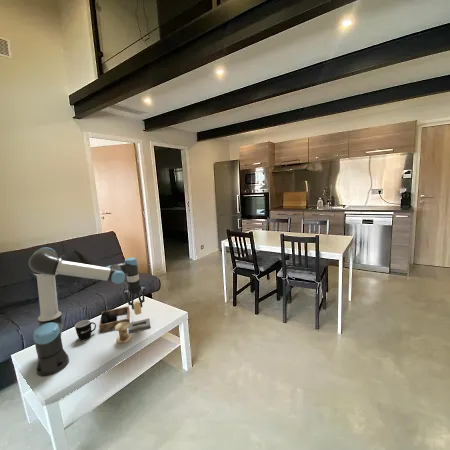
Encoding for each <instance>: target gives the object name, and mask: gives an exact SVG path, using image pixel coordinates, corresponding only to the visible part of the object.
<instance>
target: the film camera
mask: <svg viewBox="0 0 450 450" xmlns="http://www.w3.org/2000/svg"><path fill="white" fill-rule="evenodd" d="M104 311H105V312H104ZM104 311H102V312H103V313H102V312H101V315H100V320H101V323H102V324H105V323H110V322H114V321H118V315H117V314H110V313H109V312H106V311H107V310H104Z"/></svg>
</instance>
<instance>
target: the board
mask: <svg viewBox="0 0 450 450" xmlns="http://www.w3.org/2000/svg"><path fill="white" fill-rule="evenodd" d="M151 328H152V327H151V320H150V317H149V318H145V319H142V320H137V321H132V322H131V321H130V326H129V327H128V334H131V333H135V332H139V331H144V330H147V329H151Z"/></svg>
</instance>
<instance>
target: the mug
mask: <svg viewBox="0 0 450 450" xmlns="http://www.w3.org/2000/svg"><path fill="white" fill-rule="evenodd" d="M92 325H94V328H93V329H92ZM74 328H75V332H76V335H77V337H78V340H80V341H86V340H88V339H90V338H91V336H92V333H93V332H94V331H95V330H96V328H97V324H96V323H95V322H94V321H93V322H92V321H91V320H90V319H84V320H81V321H78V322H77V323H76V324H75V325H74Z"/></svg>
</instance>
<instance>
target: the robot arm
mask: <svg viewBox="0 0 450 450" xmlns="http://www.w3.org/2000/svg"><path fill="white" fill-rule="evenodd" d="M138 265H139V264H138V262H137V258H136V257H128V258H125V259H124V262H121V263H115V264H109V265H107V266H102V265H101V266H99V265H94V264H86V263H82V262H76V261H75V262H74V261H69V260H65V259H64V260H63V259H62V257H58V254H57V252H56V250H54V249H53V248H51V247H41V248H39V249H37V250H35V251H34V253H33V254H32V255H31V256H30V257H29V260H28V266H29V268H30V269H31V271H32V274H33V275H34V276H36V281H37V290H38V291H37V293H38V302H39V311H40V315H39V316H38V317H37V321H38V322H37V323H38V327H36V329H35V330H34V332H33V337H32V338H33V342H34V345H35V351H36V355H37V363H36V368H35V370H36V375H38V376H40V377H48V376H51V375H53V374H56V373H58V372H60V371H62V370H63V369H64V368H66V366H67V365H68V364H69V362H70V358H69V355H68V353H67V352H66V351H65V349H64V347H63V342H62V333H63V327H64V319H63V315H62V312H61V311H59V305H58V293H57V283H56V276H57V275H61V276H62V275H63V276H71V277H77V278H78V277H79V278H83V279H85V278H86V279H93V280H99V281H100V280H101V281H106V282H107V281H108V282H112V283H113V284H116V285H120V284H122V283H123V282H124V281H125V280H127V286H128V288H127V290H124V295H125V296H126V300H127V303H128V306H131V309H132V310H134V311H133V312H134V315H136V312H135V305H134V302H135V301H134V298H135V297H134V296H135V295H137V298H138V301H139V306H140V313H141V314H142V313H143V312H142V309H143V303H145V291H146V287H145V286H144V287H143V286H142V285H141V282H140V281H141V280H140V274H139V267H138ZM140 291H141V292H142V293H141V294H142V295H140ZM129 293H130V294H131V300H130V296H129ZM141 297H142V298H141Z"/></svg>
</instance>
